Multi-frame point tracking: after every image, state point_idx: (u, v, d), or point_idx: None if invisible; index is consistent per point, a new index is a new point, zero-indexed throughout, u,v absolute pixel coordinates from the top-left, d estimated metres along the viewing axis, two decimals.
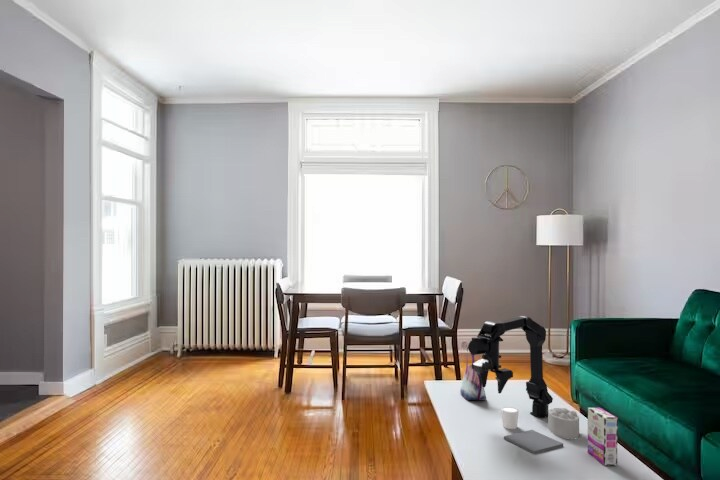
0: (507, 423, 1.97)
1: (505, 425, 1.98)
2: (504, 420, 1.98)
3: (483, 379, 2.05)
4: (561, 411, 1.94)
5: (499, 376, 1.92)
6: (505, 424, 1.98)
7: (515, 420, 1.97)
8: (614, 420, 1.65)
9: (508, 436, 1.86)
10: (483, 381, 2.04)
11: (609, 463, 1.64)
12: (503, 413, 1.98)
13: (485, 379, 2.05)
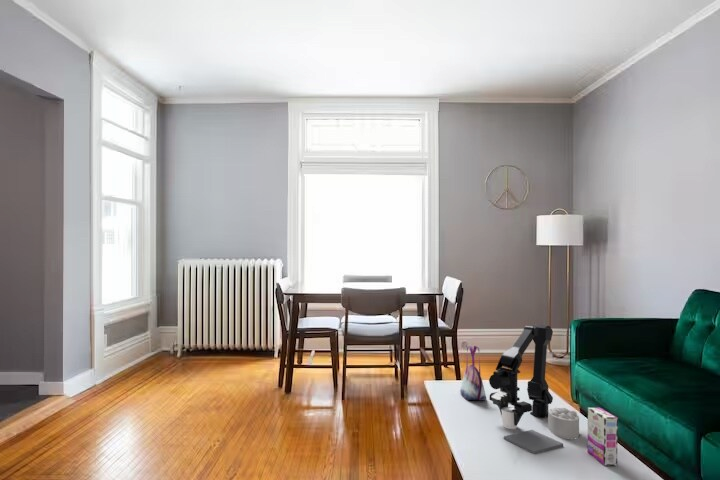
0: (507, 423, 1.97)
1: (505, 425, 1.98)
2: (504, 420, 1.98)
3: None
4: (561, 411, 1.94)
5: (518, 410, 1.91)
6: (505, 424, 1.98)
7: None
8: (614, 420, 1.65)
9: (508, 436, 1.86)
10: None
11: (609, 463, 1.64)
12: (503, 413, 1.98)
13: None
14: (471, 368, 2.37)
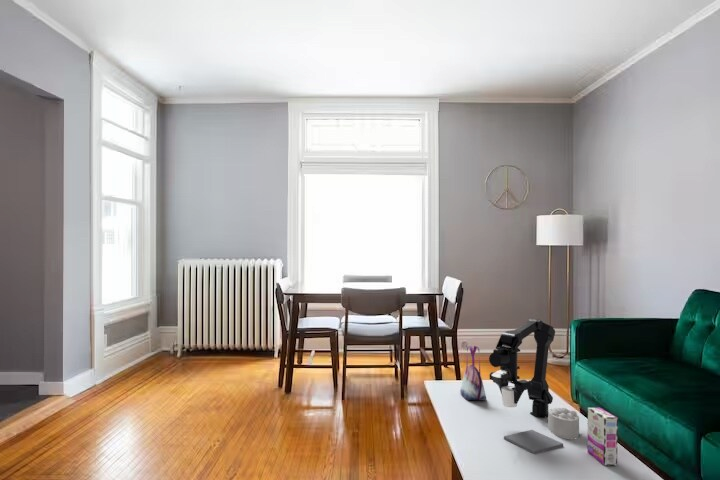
0: (507, 401, 1.97)
1: (505, 403, 1.98)
2: (504, 398, 1.98)
3: None
4: (561, 411, 1.94)
5: (518, 388, 1.91)
6: (505, 403, 1.98)
7: None
8: (614, 420, 1.65)
9: (508, 436, 1.86)
10: None
11: (609, 463, 1.64)
12: (503, 391, 1.98)
13: None
14: (471, 368, 2.37)
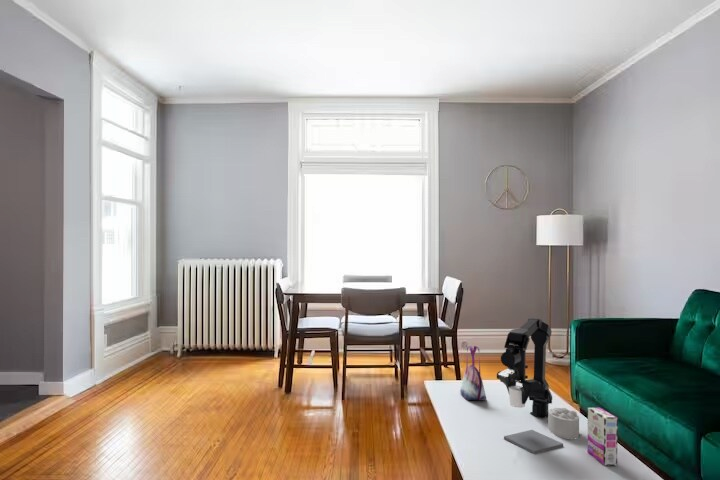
0: (515, 401, 1.91)
1: (512, 403, 1.92)
2: (511, 398, 1.92)
3: None
4: (561, 411, 1.94)
5: (526, 387, 1.85)
6: (512, 403, 1.92)
7: None
8: (614, 420, 1.65)
9: (508, 436, 1.86)
10: None
11: (609, 463, 1.64)
12: (510, 391, 1.92)
13: None
14: (471, 368, 2.37)
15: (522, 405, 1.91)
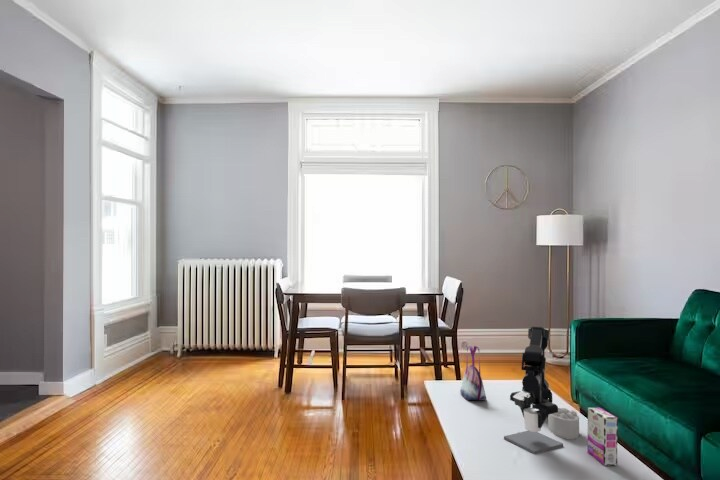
0: (531, 425, 1.81)
1: (528, 427, 1.82)
2: (527, 422, 1.82)
3: None
4: (561, 411, 1.94)
5: (543, 411, 1.75)
6: (527, 427, 1.82)
7: None
8: (614, 420, 1.65)
9: (508, 436, 1.86)
10: None
11: (609, 463, 1.64)
12: (526, 414, 1.82)
13: None
14: (471, 368, 2.37)
15: (538, 429, 1.81)
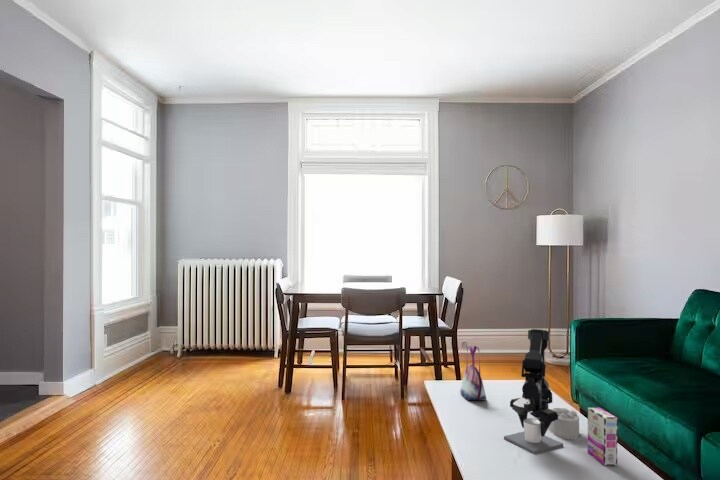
0: (531, 436, 1.81)
1: (528, 438, 1.82)
2: (527, 433, 1.82)
3: (523, 419, 1.88)
4: (561, 411, 1.94)
5: (543, 418, 1.75)
6: (527, 438, 1.82)
7: (539, 433, 1.81)
8: (614, 420, 1.65)
9: (508, 436, 1.86)
10: None
11: (609, 463, 1.64)
12: (526, 425, 1.82)
13: None
14: (471, 368, 2.37)
15: (538, 440, 1.81)
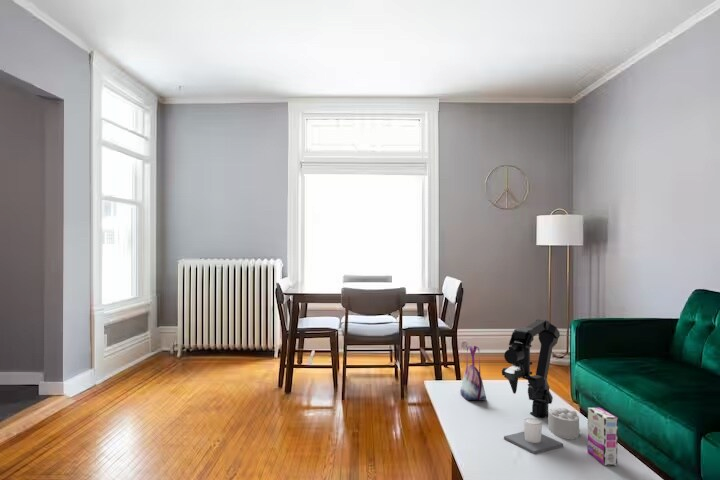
0: (531, 436, 1.81)
1: (528, 438, 1.82)
2: (527, 433, 1.82)
3: (514, 386, 2.06)
4: (561, 411, 1.94)
5: (532, 383, 1.93)
6: (527, 438, 1.82)
7: (539, 433, 1.81)
8: (614, 420, 1.65)
9: (508, 436, 1.86)
10: (513, 387, 2.06)
11: (609, 463, 1.64)
12: (526, 425, 1.82)
13: (515, 385, 2.06)
14: (471, 368, 2.37)
15: (538, 440, 1.81)
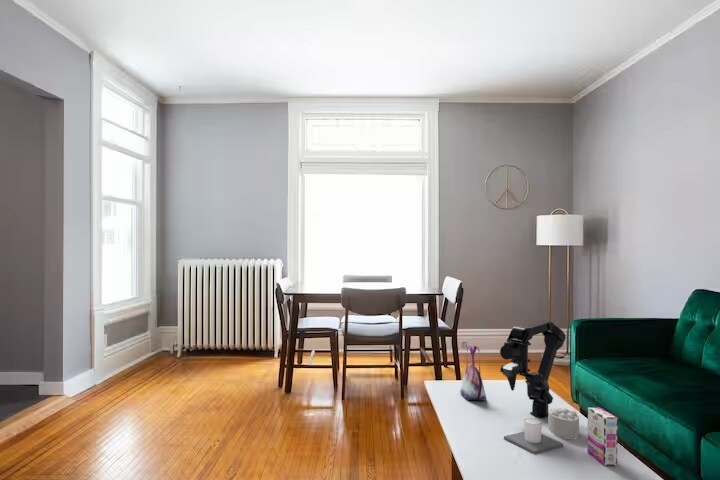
0: (531, 436, 1.81)
1: (528, 438, 1.82)
2: (527, 433, 1.82)
3: (512, 383, 2.09)
4: (561, 411, 1.94)
5: (529, 380, 1.97)
6: (527, 438, 1.82)
7: (539, 433, 1.81)
8: (614, 420, 1.65)
9: (508, 436, 1.86)
10: (512, 384, 2.09)
11: (609, 463, 1.64)
12: (526, 425, 1.82)
13: (514, 382, 2.10)
14: (471, 368, 2.37)
15: (538, 440, 1.81)
